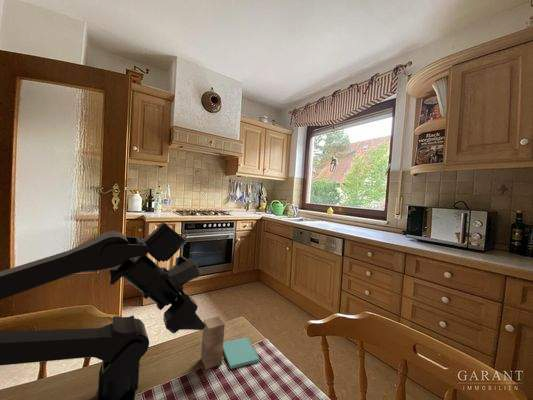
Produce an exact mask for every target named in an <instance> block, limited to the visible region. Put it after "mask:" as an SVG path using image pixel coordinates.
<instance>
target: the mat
mask: <svg viewBox="0 0 533 400" xmlns="http://www.w3.org/2000/svg"><path fill="white" fill-rule="evenodd" d="M223 354H224V357H225V360H226V362H227V365H228V367H229V369H230V370H232V369H233V370H234V369H236V368H240V367H243V366H248V365H250V364H255V363H259V362H260V357H259V356H258V354H257V352H256V350H255V349H254V346H253V345H252V343H251V341H250V340H249V338H248V337H242V338H237V339H233V340H228V341H223Z"/></svg>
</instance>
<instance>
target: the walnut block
mask: <svg viewBox="0 0 533 400" xmlns="http://www.w3.org/2000/svg"><path fill="white" fill-rule="evenodd" d="M202 321H203V323H204V324H205V328H204V329H203V330H202V340H201V352H200V353H201V355H200V360H201V362H202V364H203V367H204V370H209V369H211V368H215V367H218V366H220V365H223V354H224V352H223V342H224V338H225V323H224V322H223V320H222V319H221V317H220V316H215V317H210V318H206V319H203V320H202Z"/></svg>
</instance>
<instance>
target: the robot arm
mask: <svg viewBox="0 0 533 400" xmlns="http://www.w3.org/2000/svg"><path fill="white" fill-rule="evenodd" d="M186 243H187V241H186V240H185V239H184V238H183V237H182V236H181V235H180V234H179V233H178V232H176V231H175V230H173V229H172V228H171V227H170V226H169V225H168V224H167V223H166V222H164V221H163V222H161V223H159V225H158V226H157V227H156V228H155V229H154V230H153V231H151V233H150V234H148V236H147V237H145V238H143V237H138V236H137V237H136V236H127V235H124V234H123V232H120V231H118V230H117V231H116V230H110V231H109V230H108V231H105V232H104V233H100V234H99V235H97V236H94V237H93V238H90V239H88V240H86V241H84V242H82V243H81V244H79V245H77V246H76V247H73V248H71V249H69V250H66V251H63V252H60V253H56V254H53V255H50V256H47V257H43V258H40V259H36V260H34V261H30V262H27V263H24V264H21V265H17V266H14V267H11V268H7V269H4V270H1V271H0V301H1V300H4V299H7V298H9V297H13V296H16V295H18V294H20V293H23V292H26V291H29V290H31V289H35V288H38V287H41V286H43V285H47V284H49V283H52V282H54V281H57V280H60V279H63V278H65V277H69V276H71V275H75V274H79V273H80V274H81V273H88V272H90V273H91V272H99V271H102V270H107V269H108V270H109V284H110V285H111V286H113V285H115V284H117V282H118V281H119V280H120V279H121V278H122V279H124V280H125V281H127V283H129V284H131V286H133V287H134V288H135V289H137V290H138V291H139V292H141V295H142V298H144V299H145V300H148V299H150V300H151V301H152V302H154V303H156V307H157V309H159V310H160V311H162V310H163V309H164V308H165V307H168V306H169V305H170V306H169V308H167V309H166V310H165V311H164V312H163V318H162V319H163V323H164V326H165V328H166V330H168V331H169V332H170V333H171V334H175V333H177V332H178V331H181V330H182V331H183V330H187V331H188V330H190V331H203V329H204V328H205V324H204V323H203V321H204V320H202V319H201V317H200V316H199V315H198V314H197V310H198V305H197V302H196V301H195V299H193V298H192V296H190V295H189V294H186V293H185V291H184V285H185V284H188V282H190V281H192V280H194V279H198V278H199V277H200V276H201V275H202V274H201V272H200V269H199V266H198V264H197V262H196V261H195V260H194V259H193V258H191V257H188V258H185V257H184V256H183V255H180V256H178V257H176V258H175V264H174V265H172V268H169V269H168V268H167V267H165V266H164V267H163V266H162V267H160V266H159V265H158V264H157V263H156V262H155V261H154V260H156V261H157V262H158V263H160V262H162V263H164V262H165V261H166V262H168V261H169V260H170V259H171V258H172V257H173V256H174V255H176V253H177V252H178V251H179V250H180V249H182V248H183V246H185V244H186ZM148 254H149V256H151V257H152V258H153V259H154V260H153V259H151V258H150V257H149V256H148ZM145 326H146V325H145V323H144V322H143V320H141V319H139V318H136V317H135V315H131V316H117V315H116V316H113V317H112V319H111V323H109V324H107V325H104V326H102V327H95V328H90V327H89V328H67V329H66V328H65V329H64V328H63V329H62V328H61V329H38V330H37V329H35V330H30V329H29V330H9V331H8V330H6V331H0V367H1V366H9V365H10V366H11V365H21V364H33V363H45V362H53V361H56V362H57V361H65V360H73V359H87V358H89V359H90V358H95V359H97V360H100V361H101V365H100V368H99V372H98V382H97V383H98V385H97V387H98V388H97V398H96V400H135V398H136V391H138V389H139V382H140V371H141V370H140V368H141V363H140V361H141V358H142V357H143V356H145V354H146V353H147V351H149V347H150V340H149V336H148V333H147V330H146V327H145Z"/></svg>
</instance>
